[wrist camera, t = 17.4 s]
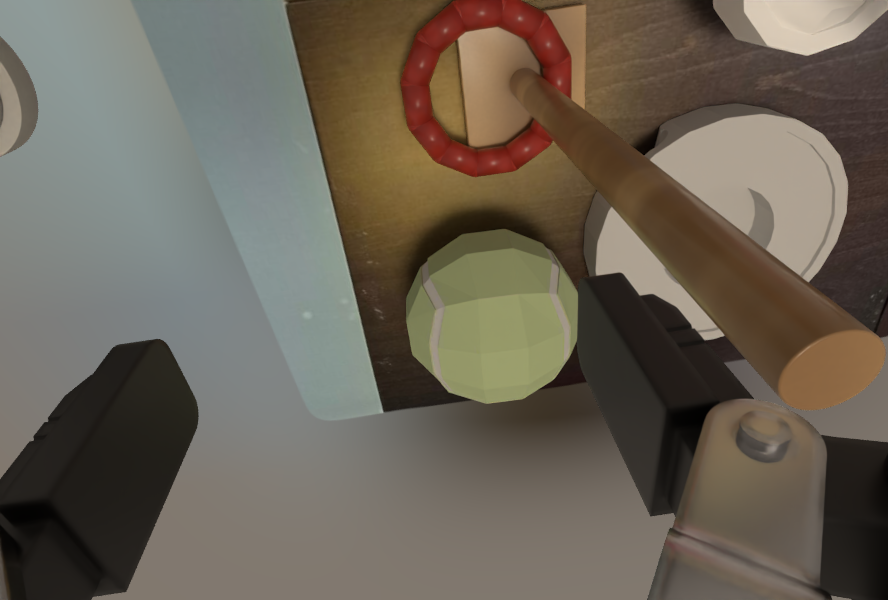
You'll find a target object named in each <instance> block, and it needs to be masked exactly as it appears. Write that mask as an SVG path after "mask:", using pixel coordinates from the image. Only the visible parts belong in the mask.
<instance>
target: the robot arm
mask: <svg viewBox="0 0 888 600" xmlns="http://www.w3.org/2000/svg"><path fill="white" fill-rule="evenodd" d="M2 121H3V104H2V99H1V96H0V127H1V125H2ZM577 349H578V356H579V361H580V365H581V369H582V372H583V374H584V376H585V378H586V381H587V383H588V385H589V387H590V389H591V391H592V393H593V395H594V397H595V400H596V402H597V403H598V406H599V408H600V410H601V412H602V414H603V417H604V419H605V421H606V423H607V425H608V427H609V429H610V431H611V434H612V436H613V438H614V440H615V442H616V444H617V446H618V448H619V451H620V453H621V455H622V457H623V459H624V461H625V463H626V465H627V468H628V470H629V472H630V474H631V476H632V478H633V480H634V482H635V484H636V487H637V489H638V491H639V493H640V495H641V497H642V499H643V501H644V504H645V506H646V508H647V510H648V512H649V514H650V516H656V515H662V514H669V513H674V515H675V517H676V518H675V521H674V525H673V527H672V528H670V529H669V532H668V534H667V537H666V540H665V543H664V546H663V549H662V553H661V556H660V559H659V562H658V566H657V569H656V572H655V576H654V579H653V582H652V585H651V589H650V592H649V595H648V599H647V600H832V598H831V595H832V596H838V597H843V598H849V599H852V600H888V442H878V441H869V440H859V439H849V438H838V437H831V436H824V435H820V434H819V432H818V431H817V430H816V429H815V428H814V427H813V426H812V425H811V424H810V423H809V422H808V421H806V420H805V419H804V418H802V417H801V416H799V415H798V414H796V413H794V412H793V411H791V410H789V409H787V408H784V407H782V406H779V405H777V404H774V403H770V402H766V401H761V400H755V399H754V398H753V397H752V396H751V395H750V393H749V392H748V391H747V390H746V389H745V388H744V386H743V385H742V384H741V383H740V381H739V380H738V379H737V378H736V377H735V376H734V374H733V373H732V372H731V371H730V370H729V369H728V368H727V366H726V365H725V364H724V363H723V361H722V360H721V359H720V358H719V357H718V355H717V354H716V353H715V352H714V351H713V350H712V348H711V347H710V346H709V345H708V344H707V343H706V344H705V343H704V339H703V338H702V336H701V335H700V334H699V333H698V332H697V331H696V329H695V328H693V329H692V325H691V323H690V322H689V321H688V320H687V319H686V318H685V316H684V315H683V314H682V313H681V312H680V310H679V309H678V308H677V307H676V306H674V305H672V304H670V303H669V302H667V301H665V300H663V299H662V298H660V297H658V296H656V295H654V294H647V295H639V294H638V292H637V291H636V290H635V288H634V287H633V286H632V285H631V283H630V282H629V281H628V279H627V278H626V277H625V275H624V274H623V273H621V272H618V273H611V274H604V275H597V276H591V277H584V278H581V279H580V281H579V286H578V320H577ZM197 425H198V406H197V402H196V399H195V397H194V395H193V393H192V391H191V389H190V387H189V385H188V383H187V381H186V379H185V377H184V375H183V373H182V371H181V369H180V367H179V366H178V363H177V361H176V359H175V358H174V356H173V354H172V352H171V350H170V348H169V346H168V345H167V344H166V343H165V342H164V341H163V340H160V339H154V340H147V341H141V342H134V343H127V344H120V345H117V346H115V347H113V348H112V350H111V351H110V352H109V353H108V355H107V356H106V357H105V359H104V360H103V361H102V363H101V364H100V365H99V367H98V368H97V369H96V371H95V372H94V373H93V375H90V376H89V377H88V378H87V379H85V380H84V381H83V382H82V383H80V384H79V385H78V386H77V387H75V388H74V389H73V390H72V391H70V392H69V393H68V394H67V395H65V397H64V398H63V399H62V401H61V402H60V403H59V404H58V406H57V407H56V408H55V410H54V411H53V412H52V413H51V415H50V416H49V417H48V422H45V423H44V424H43V425H42V426H41V427H40V429H39V430H38V431H37V433H36V434H35V435H34V441H31V442H29V443H28V444H27V445H26V447H25V448H24V449H23V451H22V452H21V453H20V455H19V456H18V457H17V458H16V460H15V461H14V462H13V464H12V465H11V466H10V468H9V469H8V470H7V471H6V473H5V474H4V475H3V476H2V478H1V479H0V600H91V599H92V597H94V596H102V595H108V594H114V593H122V592H126V590H127V589H128V586H129V584H130V582H131V579H132V577H133V575H134V573H135V570H136V568H137V565H138V563H139V561H140V559H141V556H142V554H143V552H144V549H145V547H146V545H147V542H148V540H149V538H150V536H151V533H152V531H153V529H154V526H155V523H156V522H157V519H158V517H159V515H160V512H161V510H162V508H163V505H164V503H165V501H166V499H167V496H168V494H169V492H170V489H171V487H172V485H173V482H174V480H175V478H176V475H177V473H178V471H179V468H180V466H181V464H182V462H183V459H184V457H185V455H186V452H187V450H188V448H189V445H190V443H191V441H192V438H193V436H194V434H195V431H196V429H197Z"/></svg>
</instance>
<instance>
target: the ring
mask: <svg viewBox="0 0 888 600" xmlns="http://www.w3.org/2000/svg"><path fill="white" fill-rule="evenodd" d="M494 27H499V28H501V29H504V30H506V31H508V32H510V33H512V34H514V35H516V36H518V37H521V38H523V39H525V40H527V42H528V44H529V45H530V47H531V49H532V50H533V52H534V54H535V55H536V57H537V58H538V60H539V62H540V63H541V65H542V67H543V78H544V79H545V80H547V81H548V82H549V83H551V84H552V85H553V86H554V87H556V88H557V89H558V90H560V91H561V92H562V93H564V94H565V95H566V96H567V97H569V98H570V99H571V100H572V57H571V54H570V52H569V50H568V48H567V46H566V45H565V43H564V41H563V40H562V38H561V36H560V34H559V33H558V31H557V29H556V27H555V26H554V24H553V22H552V21H551V19H550V17H549V16H548V14H547V13H545V12H544V11H542V10H540V9H538V8H536V7H534V6H532V5H530V4H528V3H526V2H523V1H521V0H454V1H452V2H451V3H450V4H449V5H448V6H447V7H445V8H444V9H443V10H442V11H441V12H440V13H439V14H438V15H436V16H435V17H434V18H433V19H432V20H431V21H430V22H428V23H427V24H426V25H425V26H424V27H423V28H422V29H421V30H419V32H418V33H417V34H416V36H415V38H414V41H413V44H412V47H411V50H410V53H409V56H408V59H407V62H406V65H405V68H404V71H403V73H402V76H401V80H400V84H401V91H402V97H403V103H404V109H405V115H406V121H407V126H408V128H409V130H410V131H411V133H412V134H413V135H414V136H415V138H416V139H417V140H418V141H419V143H420V144H421V145H422V146H423V148H424V149H425V150H426V151H427V153H428V154H429V155H430V156H431V158H432V159H433V160H434V161H435V162H437V163H438V164H441V165H444V166H446V167H449V168H451V169H454V170H456V171H459V172H462V173H464V174H467V175H469V176H472V177H479V176H486V175H492V174H499V173H506V172H513V171H516V170H517V169H519V168H520V167H521V166H523V165H524V164H526V163H527V162H528V161H530V160H531V159H532V158H534V157H535V156H536V155H538V154H539V153H541V152H542V151H543V150H545V149H546V148H547V147H549V146H550V145H551V143H552V141H553V140H552V138H551V137H550V136H549V135H548V134H547V133H546V132H545V130H544V129H543V128H542V127H541V126H540V125H539V124H538V122H537V121H536V120H535V119H534V120H533V122H532V124H531V126H530V128H528V129H527V130H526V131H524V132H523V133H522V134H521V135H519V136H518V137H517V138H515V139H514V140H513V141H511V142H510V143H509V144H507V145H506V146H500V147H493V148H486V149H480V150H476V149H474V148H471V147H469V146H466V145H464V144H461V143H459V142H456V141H454V140H451V139H450V137H449V136H448V135H447V133H446V132H445V131H444V129H443V128H442V127H441V125H440V124H439V123H438V122H437V120H436V119H435V118H434V116H433V110H432V103H431V96H430V89H429V83H430V81H431V78H432V75H433V73H434V70H435V67H436V65H437V62H438V59H439V56H440V54H441V53H442V52H443V51H444V50H445V49H447V48H448V47H449V46H450V45H451V44H452V43H454V42H455V41H456V40H457V39H458V38H459V37H461V36H462V35H463V34H464V33H465V32H468V31H475V30H481V29H488V28H494Z"/></svg>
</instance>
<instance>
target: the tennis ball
mask: <svg viewBox="0 0 888 600" xmlns="http://www.w3.org/2000/svg"><path fill="white" fill-rule="evenodd" d="M577 320H578V292H577V290H576V289H575V287H574V285H573V283H572V281H571V279H570V277H569V276H568V274H567V273H566V271H565V270H564V268H563V267H562V265H561V264H560V262H559V261H558V259H557V258H556V256H555V255H554V253H553V252H552V250H550V249H547V248H546V247H545V246H544V244H543V243H540V242H538V241H535V240H533V239H530V238H527V237H525V236H522V235H520V234H517V233H515V232H512V231H510V230H507V229H499V230H491V231H483V232H476V233H468V234H462V235H460V236H459V237H457V238H456V239H455V240H453V241H452V242H450V243H449V244H447V245H446V246H444V247H443V248H441V249H440V250H438V251H437V252H436V253H434V254H433V255H432V256H430V257H429V258H428V261H427V262H426V263H425V264H423V265H422V266H421V267H420V269H419V271H418V273H417V276H416V278H415V280H414V282H413V284H412V286H411V289H410V291H409V293H408V295H407V297H406V322H407V327H408V333H409V338H410V344H411V349H412V355H413V356H414V357H415V358H416V359H417V360H418V361H419V362H421V363H422V364H423V365H424V366H425V367H426V368H427V369H428V370H429V371H430V372H431V373H432V374H433V375H434V376H435V377H436V378H437V379H438V380H439V381H440V382H441V384H442V385H443V386H444V387H445V388H446V390H447V391H448V392H450V393H453V394H456V395H460V396H463V397H466V398H469V399H473V400H476V401H479V402H482V403H486V404H487V403H495V402H504V401H511V400H519V399H524V398H525V397H527V396H528V395H530V394H531V393H533V392H535V391H536V390H538V389H539V388H541V387H543V386H544V385H546V384H547V383H549V382H551V381H552V380H553V379H555V377H556V376H557V374H558V373H559V372H560V370H561V369H562V367H563V366H564V364H565V363H566V361H567V360H568V358H569V357H570V355H571V353H572V350H573V348H574V345H575V343H576V341H577Z"/></svg>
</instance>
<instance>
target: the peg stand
mask: <svg viewBox="0 0 888 600" xmlns="http://www.w3.org/2000/svg"><path fill="white" fill-rule="evenodd" d="M540 10H542V11H544V12H545V13H547V14H548V16H549V17H550V19H551V21H552V22H553V24H554V26H555V27H556V29H557V31H558V33H559V34H560V36H561V38H562V40H563V41H564V43H565V45H566V46H567V48H568V50H569V52H570V54H571V57H572V100H571V99H570V98H569V97H567V96H566V95H565V94H564V93H562V92H561V91H560V90H558V89H557V88H556V87H554V86H553V85H552V84H551V83H549V82H548V81H547V80H545V79H544V78H543V67H542V65H541V63H540V62H539V60H538V58H537V57H536V55H535V54H534V52H533V50H532V49H531V47H530V45H529V44H528V42H527V40H525V39H523V38H521V37H518V36H516V35H514V34H512V33H510V32H508V31H506V30H504V29H501V28H499V27H494V28H488V29H481V30H475V31H468V32H465V33H464V34H463V35H462V36H461V37H459V38H458V39H457V40H456V41H457V51H458V60H459V70H460V79H461V88H462V98H463V107H464V116H465V126H466V135H467V145H468V146H469V147H471V148H474V149H476V150H480V149H486V148H493V147H500V146H506V145H507V144H509V143H510V142H511V141H513V140H514V139H515V138H517V137H518V136H519V135H521V134H522V133H523V132H524V131H526V130H527V129H528V128H530V126H531V124H532V122H533V120H534V119H535V120H536V121H537V122H538V124H539V125H540V126H541V127H542V128H543V129H544V130H545V132H546V133H547V134H548V135H549V136H550V137H551V138H552V140H553V141H554V142H555V143H556V144H557V145H558V146H559V147H560V149H561V150H562V151H563V152H564V153H565V154H566V155H567V157H568V158H569V159H570V160H571V161H572V162H573V163H574V165H575V166H576V167H577V168H578V169H579V170H580V171H581V172H582V174H583V175H584V176H585V177H586V178H587V179H588V180H589V182H590V183H591V184H592V185H593V186H594V187H595V188H596V190H597V191H598V192H599V193H600V194H601V195H602V196H603V197H604V199H605V200H606V201H607V202H608V203H609V204H610V205H611V207H612V208H613V209H614V210H615V211H616V212H617V213H618V215H619V216H620V217H621V218H622V219H623V220H624V221H625V222H626V224H627V225H628V226H629V227H630V228H631V229H632V230H633V232H634V233H635V234H636V235H637V236H638V237H639V238H640V240H641V241H642V242H643V243H644V244H645V245H646V246H647V247H648V249H649V250H650V251H651V252H652V253H653V254H654V255H655V257H656V258H657V259H658V260H659V261H660V262H661V263H662V265H663V266H664V267H665V268H666V269H667V270H668V271H669V272H670V274H671V275H672V276H673V277H674V278H675V279H676V280H677V282H678V283H679V284H680V285H681V286H682V287H683V288H684V289H685V291H686V292H687V293H688V294H689V295H690V296H691V297H692V299H693V300H694V301H695V302H696V303H697V304H698V305H699V307H700V308H701V309H702V310H703V311H704V312H705V313H706V314H707V316H708V317H709V318H710V319H711V320H712V321H713V322H714V324H715V325H716V326H717V327H718V328H719V329H720V330H721V332H722V333H723V334H724V335H725V336H726V337H727V338H728V339H729V341H730V342H731V343H732V344H733V345H734V346H735V347H736V349H737V350H738V351H739V352H740V353H741V354H742V355H743V357H744V358H745V359H746V360H747V361H748V362H749V363H750V364H751V366H752V367H753V368H754V369H755V370H756V371H757V372H758V374H759V375H760V376H761V377H762V378H763V379H764V380H765V382H766V383H767V384H768V385H769V386H770V387H771V388H772V389H773V391H774V392H775V393H776V394H777V395H778V396H779V397H780V398H781V400H783V402H784V403H786V404H787V405H789V406H791V407H793V408H796V409H800V410H819V409H825V408H828V407H832V406H834V405H837V404H840V403H842V402H845V401H846V400H848V399H850V398H852V397H854V396H855V395H857V394H858V393H860V392H861V391H862V390H863V389H865V388H866V387H867V386H868V385H869V384H870V383H871V382H872V381H873V380H874V379H875V377H876V376H877V375H878V374H879V372H880V370H881V368H882V366H883V364H884V361H885V356H886V351H885V346H884V344H883V342H882V340H881V339H880V337H879V336H877V335H876V334H875V333H873V332H872V331H871V330H870V329H868V328H867V327H866V326H864V325H863V324H862V323H860V322H859V321H858V320H857V319H855V318H854V317H853V316H851V315H850V314H849V313H847V312H846V311H845V310H844V309H842V308H841V307H840V306H838V305H837V304H836V303H835V302H833V301H832V300H831V299H829V298H828V297H827V296H825V295H824V294H823V293H822V292H820V291H819V290H818V289H816V288H815V287H814V286H812V285H811V284H810V283H809V282H807V281H806V280H805V279H803V278H802V277H801V276H800V275H798V274H797V273H796V272H794V271H793V270H792V269H790V268H789V267H788V266H787V265H785V264H784V263H783V262H781V261H780V260H779V259H777V258H776V257H775V256H774V255H772V254H771V253H770V252H768V251H767V250H766V249H765V248H763V247H762V246H761V245H759V244H758V243H757V242H755V241H754V240H753V239H752V238H750V237H749V236H748V235H746V234H745V233H744V232H742V231H741V230H740V229H739V228H737V227H736V226H735V225H733V224H732V223H731V222H729V221H728V220H727V219H726V218H724V217H723V216H722V215H720V214H719V213H718V212H717V211H715V210H714V209H713V208H711V207H710V206H709V205H707V204H706V203H705V202H704V201H702V200H701V199H700V198H698V197H697V196H696V195H694V194H693V193H692V192H691V191H689V190H688V189H687V188H685V187H684V186H683V185H682V184H680V183H679V182H678V181H676V180H675V179H674V178H672V177H671V176H670V175H669V174H667V173H666V172H665V171H663V170H662V169H661V168H659V167H658V166H657V165H656V164H654V163H653V162H652V161H650V160H649V159H648V158H647V157H645V156H644V155H643V154H641V153H640V152H639V151H637V150H636V149H635V148H634V147H632V146H631V145H630V144H628V143H627V142H626V141H624V140H623V139H622V138H621V137H619V136H618V135H617V134H615V133H614V132H613V131H612V130H610V129H609V128H608V127H606V126H605V125H604V124H602V123H601V122H600V121H599V120H597V119H596V118H595V117H593V116H592V115H591V114H589V113H588V112H587V111H586V110H585V64H586V4H582V3H579V4H572V5H566V6H559V7H553V8H546V9H540Z"/></svg>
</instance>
